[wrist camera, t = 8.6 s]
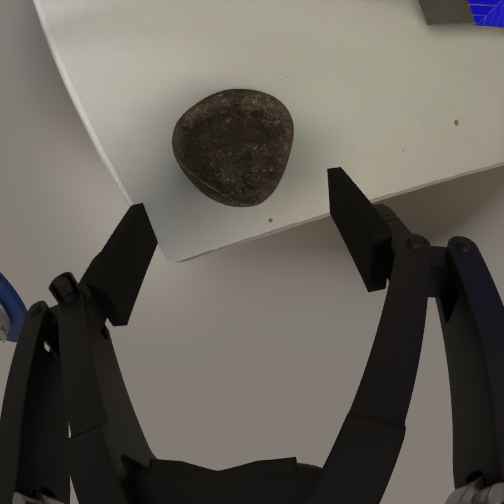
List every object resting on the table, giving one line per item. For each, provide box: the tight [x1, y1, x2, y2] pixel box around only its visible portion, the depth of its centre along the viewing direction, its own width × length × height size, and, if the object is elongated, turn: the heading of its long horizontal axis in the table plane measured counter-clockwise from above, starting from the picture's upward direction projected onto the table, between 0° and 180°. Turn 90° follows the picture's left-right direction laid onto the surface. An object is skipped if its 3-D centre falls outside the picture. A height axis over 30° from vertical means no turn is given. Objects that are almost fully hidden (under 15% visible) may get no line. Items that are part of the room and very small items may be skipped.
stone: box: [172, 89, 294, 207], centre depth 25 cm, size 11×11×5 cm
